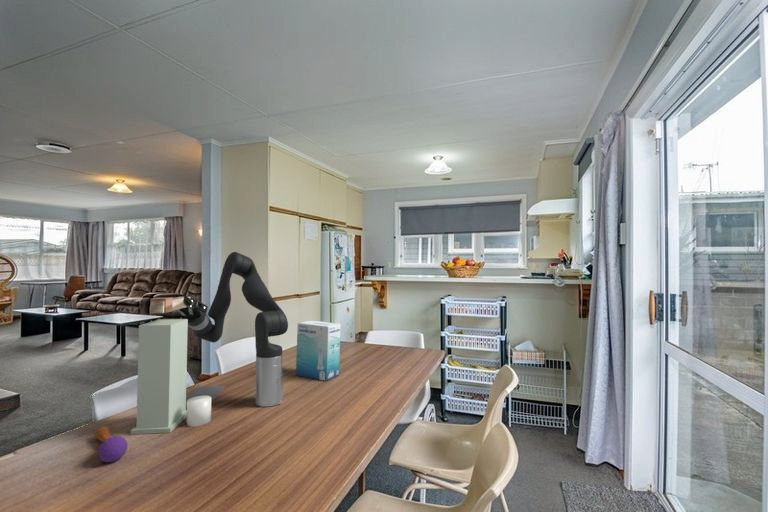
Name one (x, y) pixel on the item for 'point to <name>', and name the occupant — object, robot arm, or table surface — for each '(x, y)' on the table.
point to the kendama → (110, 445)
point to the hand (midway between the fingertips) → (178, 298)
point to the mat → (206, 392)
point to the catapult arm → (166, 304)
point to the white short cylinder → (198, 410)
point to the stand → (161, 376)
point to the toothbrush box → (318, 350)
